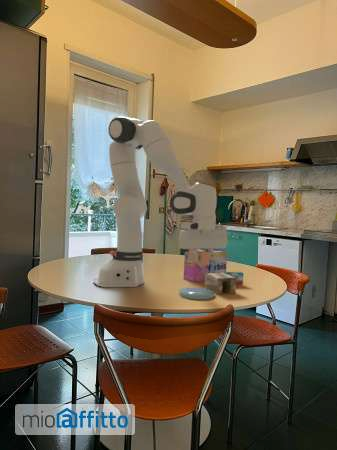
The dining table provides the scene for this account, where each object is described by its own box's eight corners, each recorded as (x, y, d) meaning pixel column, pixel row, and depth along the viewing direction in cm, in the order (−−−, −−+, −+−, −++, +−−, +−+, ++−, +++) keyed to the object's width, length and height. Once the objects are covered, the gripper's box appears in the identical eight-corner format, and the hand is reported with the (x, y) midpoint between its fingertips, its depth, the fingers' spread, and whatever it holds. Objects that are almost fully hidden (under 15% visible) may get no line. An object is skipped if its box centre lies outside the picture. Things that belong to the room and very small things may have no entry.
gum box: (217, 274, 170) (218, 249, 169) (228, 277, 163) (229, 251, 163) (182, 278, 155) (184, 251, 154) (193, 282, 149) (195, 253, 148)
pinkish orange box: (202, 265, 121) (202, 252, 120) (188, 260, 132) (188, 248, 131) (208, 265, 122) (209, 252, 122) (194, 259, 133) (195, 248, 133)
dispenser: (217, 295, 128) (218, 278, 128) (204, 288, 138) (205, 272, 138) (236, 293, 132) (237, 277, 131) (222, 286, 142) (223, 272, 142)
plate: (188, 301, 118) (188, 298, 118) (173, 291, 131) (173, 288, 131) (220, 298, 123) (221, 295, 123) (203, 289, 136) (203, 286, 136)
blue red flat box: (241, 285, 148) (242, 271, 147) (242, 285, 146) (243, 272, 146) (216, 284, 146) (217, 271, 146) (217, 285, 145) (218, 272, 144)
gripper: (222, 224, 130) (221, 257, 130) (177, 223, 122) (175, 259, 122) (231, 225, 124) (229, 260, 125) (184, 224, 116) (182, 262, 117)
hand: (202, 260), depth 123 cm, fingers closed on pinkish orange box, 3 cm apart
